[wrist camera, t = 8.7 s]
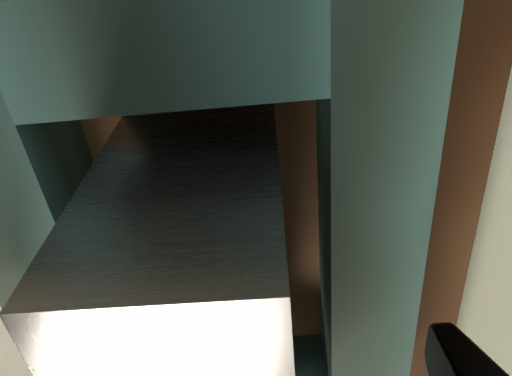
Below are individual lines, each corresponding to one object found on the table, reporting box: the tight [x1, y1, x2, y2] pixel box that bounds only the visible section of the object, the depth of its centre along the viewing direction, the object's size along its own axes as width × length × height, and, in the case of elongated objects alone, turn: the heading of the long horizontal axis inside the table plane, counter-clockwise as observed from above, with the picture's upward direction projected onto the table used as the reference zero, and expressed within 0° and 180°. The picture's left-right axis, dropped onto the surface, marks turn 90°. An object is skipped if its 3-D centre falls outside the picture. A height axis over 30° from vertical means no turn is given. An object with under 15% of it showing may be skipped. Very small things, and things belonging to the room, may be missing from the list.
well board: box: [0, 0, 512, 376], centre depth 12 cm, size 14×16×4 cm
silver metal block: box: [0, 103, 295, 376], centre depth 10 cm, size 4×7×6 cm, turn 5°
